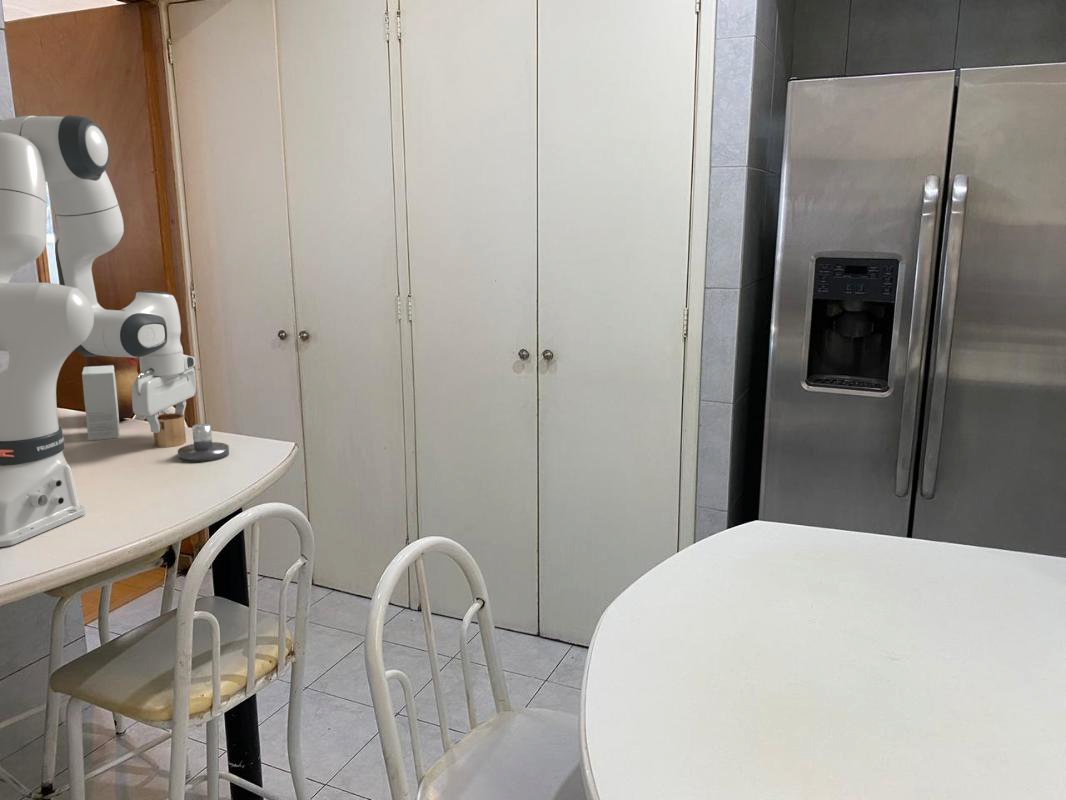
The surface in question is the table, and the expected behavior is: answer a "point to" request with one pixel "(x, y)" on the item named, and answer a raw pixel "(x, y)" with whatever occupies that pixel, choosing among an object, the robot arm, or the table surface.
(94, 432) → the skincare box
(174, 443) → the sleeve
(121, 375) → the butternut squash
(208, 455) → the duct stub
